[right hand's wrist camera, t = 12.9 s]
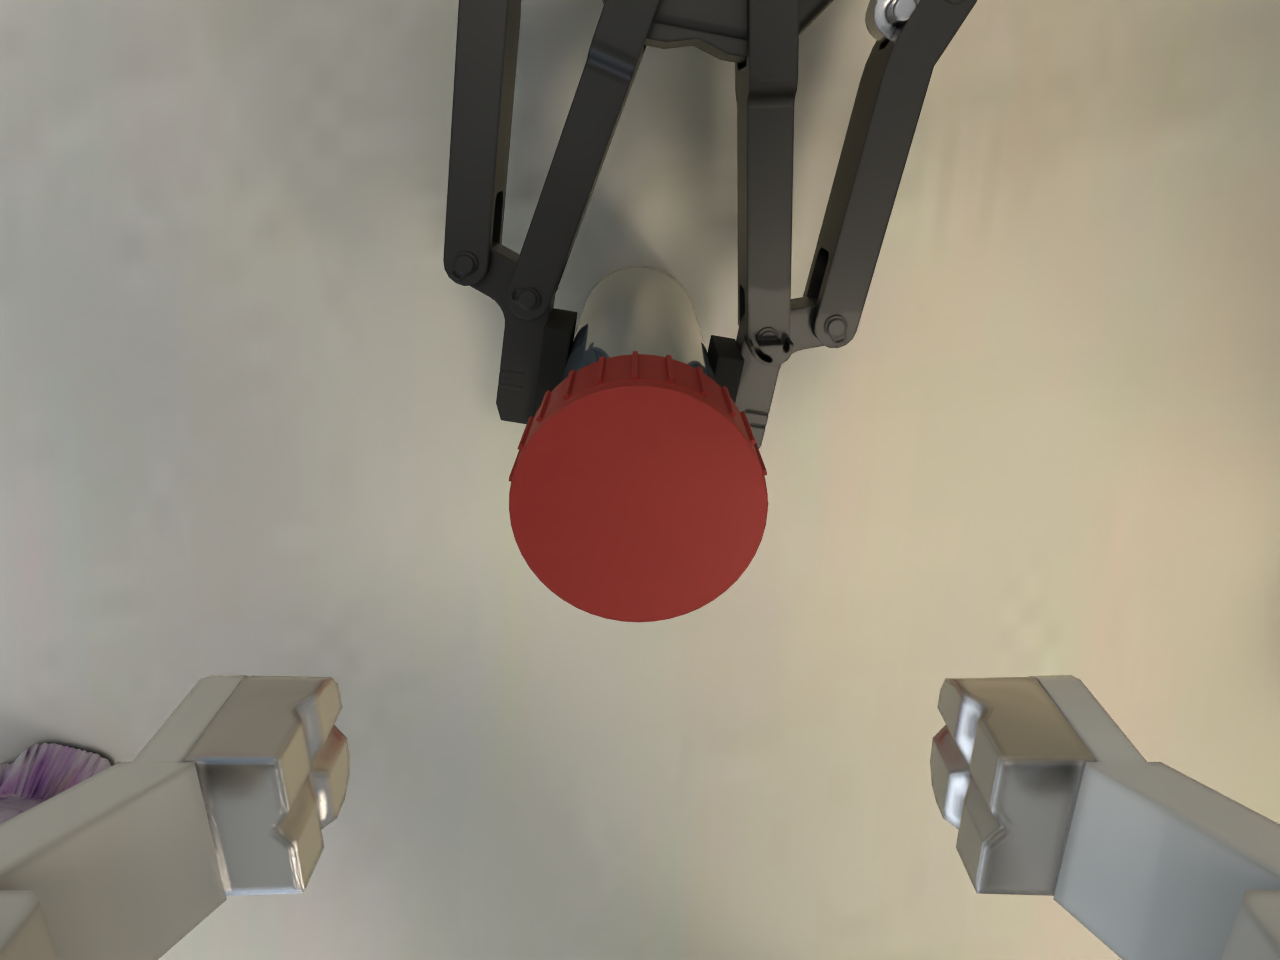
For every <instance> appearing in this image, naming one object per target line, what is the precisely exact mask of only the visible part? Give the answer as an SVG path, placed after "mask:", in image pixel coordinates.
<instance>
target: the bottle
mask: <svg viewBox="0 0 1280 960" xmlns="http://www.w3.org/2000/svg"><path fill="white" fill-rule="evenodd" d="M633 351H638V354H646V355H657V356H662V357H666V354H668V355H671V356H672V359H674V360H677V361H680V362H683V363H685V364H688V365H690V366H692V367H694V368H697V367H698V366H699V367H701V368H702V369H703V373H704V374H705V375H707V376H708V377H710V378H711V379H713V380H714V381H715V382H716V380H715V376H714V373H713V370H712V366H711V363H710V360H709V357H708V353H707V350H706V347H705V343H704V340H703V337H702V334H701V330H700V327H699V324H698V320H697V317H696V314H695V311H694V307H693V304H692V302H691V300H690V297H689V296H688V294H687V293H686V291H685V290H684V288H683V287H682V286H681V285H680V284H679V283H678V282H677V281H676V280H675V279H673V278H672V277H670V276H669V275H667V274H665V273H663V272H661V271H659V270H656V269H652V268H647V267H630V268H625V269H622V270H619V271H616V272H614V273H612V274H610V275H608V276H607V277H605V278H604V279H603V280H602V281H600V282H599V283H598V284H597V285H596V287H595V288H594V289H593V290H592V292H591V293H590V295H589V296H588V298H587V300H586V303H585V306H584V309H583V312H582V315H581V318H580V322H579V325H578V328H577V331H576V335H575V338H574V341H573V344H572V348H571V351H570V354H569V357H568V361H567V364H566V367H565V370H564V374H563V377H562V380H561V382H562V381H563V380H564V379H566V378H567V377H568V375H569V372H570V371H571V370H573V369H574V370H575V372H576V371H578V370H579V369H581V368H583V367H585V366H587V365H589V364H592V363H594V362H597V361H599V357H602V356H605V359H606V358H610V357H615V356H620V355H631V354H633Z"/></svg>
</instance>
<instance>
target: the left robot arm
mask: <svg viewBox="0 0 1280 960" xmlns="http://www.w3.org/2000/svg"><path fill="white" fill-rule="evenodd" d="M602 1H603V3H604V7H603V10H602V13H601V16H600V19H599V22H598V25H597V27H596V30H595V33H594V36H593V39H592V42H591V46H590V49H589V53H588V57H587V61H586V64H585V67H584V70H583V73H582V76H581V79H580V82H579V85H578V87H577V90H576V93H575V96H574V99H573V102H572V105H571V108H570V111H569V114H568V117H567V119H566V122H565V125H564V128H563V131H562V134H561V137H560V140H559V143H558V146H557V149H556V151H555V154H554V157H553V160H552V163H551V166H550V169H549V172H548V175H547V178H546V181H545V183H544V186H543V189H542V192H541V195H540V198H539V201H538V204H537V207H536V210H535V212H534V215H533V218H532V221H531V224H530V227H529V230H528V233H527V236H526V239H525V242H524V244H523V247H522V250H521V253H520V255H519V254H517V253H516V252H514V251H512V250H510V249H509V248H507V247H505V246H503V245H502V232H503V220H504V208H505V196H506V184H507V172H508V160H509V148H510V136H511V124H512V112H513V100H514V88H515V76H516V64H517V52H518V40H519V28H520V15H521V0H459V10H458V27H457V44H456V60H455V77H454V94H453V110H452V127H451V144H450V160H449V177H448V194H447V210H446V227H445V244H444V268H445V271H446V273H447V274H448V276H449V278H451V279H452V280H453V281H454V282H455V283H457V284H460V285H463V286H471V287H473V288H475V289H476V290H478V291H480V292H482V293H484V294H485V295H487V296H489V297H491V298H492V299H493V300H495V301H496V302H497V303H498V305H499V306H500V307H501V309H502V311H503V314H504V317H505V330H504V339H503V348H502V357H501V365H500V374H499V384H498V392H497V400H496V404H497V407H498V411H499V414H500V418H501V420H504V421H510V422H517V423H523V424H527V423H528V420H529V418H530V416H531V417H535V414H536V412H537V411H538V409H539V407H540V406H541V404H542V401H543V398H544V395H545V393H546V392H547V391H548V390H549V391H550V392H552V391H553V389H554V388H555V387H556V386H558V385H559V384H560V383H561V380H562V377H563V374H564V370H565V367H566V364H567V361H568V357H569V354H570V351H571V348H572V344H573V340H574V333H575V326H576V319H577V312H572V311H566V310H560V309H554V308H553V307H554V299H555V293H556V291H557V289H558V286H559V283H560V280H561V278H562V275H563V272H564V269H565V267H566V264H567V261H568V258H569V256H570V253H571V250H572V247H573V245H574V242H575V239H576V236H577V234H578V231H579V228H580V225H581V223H582V220H583V217H584V215H585V212H586V209H587V206H588V204H589V201H590V198H591V195H592V193H593V190H594V187H595V184H596V182H597V179H598V176H599V173H600V171H601V168H602V165H603V162H604V160H605V157H606V154H607V151H608V149H609V146H610V143H611V141H612V138H613V135H614V132H615V130H616V127H617V124H618V121H619V119H620V116H621V113H622V110H623V108H624V105H625V102H626V99H627V97H628V94H629V91H630V88H631V86H632V83H633V81H634V78H635V76H636V73H637V70H638V68H639V65H640V62H641V59H642V57H643V54H644V51H645V48H646V46H652V47H657V48H662V49H667V48H676V47H686V46H695V47H697V48H699V49H701V50H703V51H705V52H707V53H709V54H711V55H713V56H714V57H716V58H718V59H720V60H725V61H730V62H735V89H736V100H737V161H738V325H739V330H738V335H737V339H736V341H735V339H731V338H725V337H719V336H714V335H711V339H710V343H709V348H708V357H709V360H710V363H711V366H712V370H713V373H714V376H715V380H716V383H717V384H718V385H719V386H720V387H723V386H726V387H727V389H728V391H729V394H730V397H731V399H732V400H733V401H734V403H735V405H736V406H737V408H738V409H739V411H740V412H742V411H744V412H745V414H746V416H747V419H748V421H749V424H750V427H751V429H752V432H753V435H754V438H755V440H756V444H757V447H758V449H759V448H760V446H761V444H762V440H763V436H764V431H765V426H766V423H767V419H768V413H769V410H770V406H771V402H772V397H773V393H774V389H775V385H776V380H777V376H778V372H779V369H780V366H781V364H782V363H784V362H785V361H787V360H788V358H789V357H790V355H791V354H792V353H794V352H796V351H799V350H802V349H808V348H813V347H819V346H827V347H829V348H839V347H842V346H844V345H846V344H848V343H849V342H850V341H851V340H852V339H853V337H854V335H855V333H856V331H857V328H858V324H859V321H860V318H861V314H862V311H863V307H864V304H865V300H866V297H867V294H868V290H869V287H870V283H871V280H872V276H873V273H874V270H875V266H876V263H877V259H878V256H879V252H880V249H881V246H882V242H883V239H884V235H885V232H886V228H887V225H888V222H889V218H890V215H891V211H892V208H893V204H894V201H895V198H896V194H897V191H898V187H899V184H900V180H901V177H902V174H903V170H904V167H905V163H906V160H907V156H908V153H909V150H910V146H911V143H912V139H913V136H914V133H915V129H916V126H917V122H918V119H919V115H920V112H921V109H922V105H923V102H924V98H925V95H926V91H927V88H928V85H929V81H930V78H931V74H932V71H933V67H934V65H935V64H936V62H937V61H938V59H939V58H940V56H941V55H942V53H943V52H944V50H945V49H946V47H947V46H948V44H949V43H950V41H951V40H952V38H953V37H954V35H955V34H956V32H957V31H958V29H959V28H960V26H961V25H962V23H963V22H964V20H965V19H966V17H967V15H968V14H969V12H970V11H971V9H972V8H973V6H974V5H975V3H976V2H977V0H870V2H869V5H868V8H867V11H866V17H865V22H866V27H867V29H868V31H869V33H870V34H871V35H872V36H873V37H874V38H875V39H876V40H877V41H876V43H875V45H874V47H873V49H872V51H871V53H870V56H869V58H868V60H867V63H866V65H865V68H864V71H863V74H862V77H861V81H860V84H859V88H858V92H857V95H856V99H855V103H854V107H853V110H852V114H851V118H850V122H849V125H848V129H847V133H846V137H845V141H844V144H843V148H842V152H841V156H840V159H839V163H838V167H837V171H836V175H835V178H834V182H833V186H832V190H831V193H830V197H829V201H828V205H827V209H826V212H825V216H824V220H823V224H822V227H821V231H820V235H819V239H818V243H817V246H816V250H815V254H814V258H813V261H812V265H811V269H810V273H809V276H808V280H807V284H806V288H805V292H804V295H803V297H801V298H796V299H791V245H792V191H793V137H794V101H795V95H796V91H797V83H798V49H799V35H800V34H801V33H802V32H803V31H804V30H805V29H806V28H807V27H808V26H809V25H810V24H811V23H812V22H813V21H814V20H815V19H816V18H817V17H818V16H819V15H820V13H821V12H822V11H823V10H824V9H825V8H826V7H827V6H828V5H829V4H830V3H831V2H832V1H833V0H602Z"/></svg>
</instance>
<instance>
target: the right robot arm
mask: <svg viewBox="0 0 1280 960" xmlns="http://www.w3.org/2000/svg"><path fill="white" fill-rule="evenodd" d="M341 709H342V702H341V697H340V692H339V687H338V684H337V683H336V682H335V680H334V679H333V678H332V677H291V676H250V677H249V676H246V675H231V676H208V677H205V678H202V679H200V680H199V681H198V682H197V683H196V685H195V686H194V687H193V688H192V689H191V691H190V692H189V693H188V694H187V696H186V697H185V698H184V699H183V701H182V702H181V703H180V704H179V705H178V707H177V708H176V709H175V710H174V712H173V713H172V714H171V715H170V717H169V718H168V719H167V720H166V722H165V723H164V724H163V725H162V726H161V728H160V729H159V730H158V731H157V733H156V734H155V735H154V736H153V738H152V739H151V740H150V741H149V743H148V744H147V745H146V746H145V747H144V749H143V750H142V751H141V752H140V754H139V755H138V756H137V757H136V759H135V760H134V761H133V762H119V763H117V764H115V765H113V766H111V767H109V768H107V769H105V770H103V771H101V772H99V773H98V774H96V775H94V776H92V777H90V778H88V779H86V780H84V781H82V782H80V783H78V784H76V785H75V786H73V787H71V788H69V789H67V790H65V791H63V792H61V793H59V794H57V795H55V796H54V797H52V798H50V799H48V800H46V801H44V802H42V803H40V804H38V805H36V806H34V807H32V808H31V809H29V810H27V811H25V812H23V813H21V814H19V815H17V816H15V817H13V818H11V819H9V820H8V821H6V822H4V823H2V824H0V960H158V959H159V958H160V957H161V956H162V955H164V954H165V953H166V952H167V951H168V950H169V949H170V948H172V947H173V946H174V945H175V944H176V943H177V942H178V941H180V940H181V939H182V938H183V937H184V936H185V935H186V934H188V933H189V932H190V931H191V930H192V929H193V928H195V927H196V926H197V925H198V924H199V923H200V922H201V921H203V920H204V919H205V918H206V917H207V916H208V915H209V914H211V913H212V912H213V911H214V910H215V909H216V908H217V907H219V906H220V905H221V904H222V903H223V902H224V901H225V900H226V895H260V894H294V893H304V891H305V889H306V886H307V884H308V882H309V880H310V877H311V875H312V873H313V871H314V869H315V866H316V864H317V862H318V860H319V857H320V855H321V853H322V851H323V848H324V844H323V838H322V831H321V829H323V828H324V827H325V826H327V825H328V824H329V823H331V822H332V821H334V820H335V819H336V818H337V817H338V814H339V812H340V809H341V807H342V804H343V802H344V800H345V795H346V790H347V785H348V779H349V748H348V741H347V737H346V736H345V735H344V734H343V733H342V732H341V731H340V730H339V729H338V728H337V727H336V726H335V725H334V723H335V721H336V719H337V717H338V715H339V713H340V711H341ZM938 709H939V711H940V713H941V715H942V717H943V719H944V721H945V723H946V725H945V726H944V727H943V728H942V729H941V730H940V731H939V732H938V733H937V734H936V735H935V736H934V737H933V741H932V750H931V759H930V766H931V780H932V787H933V791H934V795H935V799H936V802H937V805H938V807H939V809H940V812H941V814H942V817H943V818H944V819H945V820H946V821H948V822H949V823H951V824H952V825H953V826H955V827H956V828H957V829H959V831H958V838H957V844H956V848H957V851H958V853H959V855H960V857H961V860H962V862H963V864H964V866H965V868H966V871H967V873H968V875H969V877H970V880H971V882H972V884H973V886H974V888H975V891H976V893H983V894H1019V895H1054V898H1053V899H1054V900H1055V901H1056V902H1057V903H1058V904H1060V905H1061V906H1062V907H1063V908H1064V909H1065V910H1066V911H1068V912H1069V913H1070V914H1071V915H1072V916H1073V917H1074V918H1076V919H1077V920H1078V921H1079V922H1080V923H1081V924H1082V925H1084V926H1085V927H1086V928H1087V929H1088V930H1089V931H1090V932H1092V933H1093V934H1094V935H1095V936H1096V937H1097V938H1098V939H1100V940H1101V941H1102V942H1103V943H1104V944H1105V945H1106V946H1108V947H1109V948H1110V949H1111V950H1112V951H1113V952H1114V953H1116V954H1117V955H1118V956H1119V957H1120V958H1121V959H1122V960H1280V824H1278V823H1276V822H1274V821H1272V820H1270V819H1268V818H1266V817H1264V816H1263V815H1261V814H1259V813H1257V812H1255V811H1253V810H1251V809H1249V808H1247V807H1245V806H1243V805H1242V804H1240V803H1238V802H1236V801H1234V800H1232V799H1230V798H1228V797H1226V796H1224V795H1222V794H1221V793H1219V792H1217V791H1215V790H1213V789H1211V788H1209V787H1207V786H1205V785H1203V784H1201V783H1200V782H1198V781H1196V780H1194V779H1192V778H1190V777H1188V776H1186V775H1184V774H1182V773H1180V772H1179V771H1177V770H1175V769H1173V768H1171V767H1169V766H1167V765H1165V764H1163V763H1161V762H1147V761H1146V760H1145V759H1144V757H1143V756H1142V755H1141V754H1140V752H1139V751H1138V750H1137V749H1136V748H1135V746H1134V745H1133V744H1132V743H1131V741H1130V740H1129V739H1128V738H1127V736H1126V735H1125V734H1124V733H1123V732H1122V730H1121V729H1120V728H1119V727H1118V725H1117V724H1116V723H1115V722H1114V720H1113V719H1112V718H1111V717H1110V716H1109V714H1108V713H1107V712H1106V711H1105V709H1104V708H1103V707H1102V706H1101V704H1100V703H1099V702H1098V701H1097V700H1096V698H1095V697H1094V696H1093V695H1092V693H1091V692H1090V691H1089V690H1088V688H1087V687H1086V686H1085V685H1084V684H1083V682H1082V681H1081V680H1080V679H1078V678H1076V677H1074V676H1072V675H1053V676H1029V677H1007V678H945V681H944V683H943V685H942V687H941V690H940V696H939V702H938Z"/></svg>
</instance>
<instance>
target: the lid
mask: <svg viewBox="0 0 1280 960" xmlns="http://www.w3.org/2000/svg"><path fill="white" fill-rule="evenodd" d="M518 449H519V452H518V455H517V458H516V460H515V463H514V466H513V468H512V471H511V474H510V476H509V481H511V487H510V493H509V512H510V520H511V526H512V530H513V533H514V537H515V540H516V543H517V545H518V547H519V550H520V552H521V554H522V556H523V557H524V559H525V561H526V562H527V564H528V566H529V567H530V569H531V570H532V571H533V572H534V574H535V575H536V576H537V577H538V579H539V580H540V581H541V582H542V583H543V584H544V585H545V586H546V587H547V588H549V589H550V590H551V591H552V592H553V593H555V594H556V595H557V596H559V597H560V598H561V599H563V600H564V601H566V602H568V603H569V604H571V605H573V606H575V607H576V608H578V609H581V610H583V611H586V612H588V613H590V614H593V615H596V616H600V617H603V618H607V619H612V620H618V621H627V622H650V621H659V620H665V619H670V618H674V617H677V616H680V615H684V614H687V613H689V612H691V611H694V610H696V609H698V608H701V607H702V606H704V605H706V604H708V603H709V602H711V601H713V600H714V599H716V598H717V597H718V596H720V595H721V594H722V593H724V592H725V591H726V590H727V589H728V588H729V587H730V586H731V585H732V584H734V583H735V582H736V581H737V580H738V578H739V577H740V576H741V575H742V573H743V572H744V571H745V570H746V568H747V567H748V565H749V564H750V562H751V560H752V559H753V557H754V556H755V554H756V551H757V549H758V547H759V545H760V542H761V540H762V536H763V533H764V529H765V526H766V518H767V511H768V497H767V488H766V482H765V477H764V475H767V472H766V468H765V466H764V463H763V460H762V458H761V455H760V452H759V450H758V447H757V444H756V440H755V438H754V435H753V432H752V429H751V427H750V424H749V421H748V419H747V416H746V414H745V412H744V411H742V412H740V411H739V409H738V408H737V406H736V405H735V403H734V401H733V400H732V399H731V397H730V394H729V391H728V389H727V387H726V386H723V387H720V386H719V385H718V384H717V383H716V382H715V381H714V380H713V379H711V378H710V377H708V376H707V375H705V374H704V373H703V369H702V368H701V367H699V366H698V367H697V368H694V367H692V366H690V365H688V364H685V363H683V362H680V361H677V360H674V359H672V356H671V355H668V354H666V357H662V356H657V355H646V354H638V351H633V354H631V355H620V356H615V357H610V358H606V359H605V356H602V357H599V361H597V362H594V363H592V364H589V365H587V366H585V367H583V368H581V369H579V370H578V371H576V372H575V370H574V369H573V370H571V371H570V372H569V375H568V377H567V378H566V379H564V380H563V381H562V382H561V383H560V384H559V385H558V386H556V387H555V388H554V389H553V391H552V392H550V391H549V390H548V391H547V392H546V393H545V395H544V398H543V401H542V404H541V406H540V407H539V409H538V411H537V412H536V414H535V417H531V416H530V418H529V420H528V423H527V425H526V428H525V430H524V433H523V436H522V438H521V441H520V444H519V446H518Z"/></svg>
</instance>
